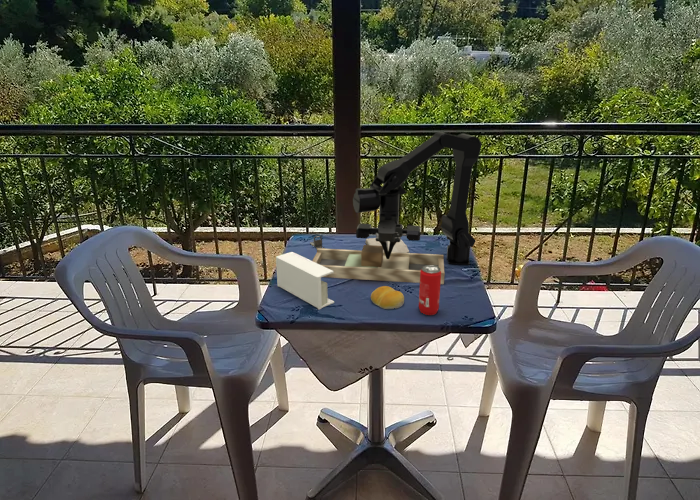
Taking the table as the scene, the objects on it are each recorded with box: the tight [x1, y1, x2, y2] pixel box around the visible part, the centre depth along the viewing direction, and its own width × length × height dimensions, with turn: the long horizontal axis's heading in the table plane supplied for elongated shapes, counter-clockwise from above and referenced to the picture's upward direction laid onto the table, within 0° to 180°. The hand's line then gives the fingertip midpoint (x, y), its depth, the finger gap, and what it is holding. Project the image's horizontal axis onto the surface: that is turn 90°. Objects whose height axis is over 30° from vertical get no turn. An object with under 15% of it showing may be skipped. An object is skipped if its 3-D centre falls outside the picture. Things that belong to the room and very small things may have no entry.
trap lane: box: [311, 248, 446, 285], centre depth 155 cm, size 40×14×4 cm, turn 81°
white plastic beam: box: [275, 251, 335, 310], centre depth 140 cm, size 20×6×9 cm, turn 42°
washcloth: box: [364, 237, 410, 253], centre depth 171 cm, size 12×18×3 cm, turn 12°
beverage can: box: [418, 265, 442, 316], centre depth 130 cm, size 5×5×12 cm
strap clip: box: [309, 235, 327, 250], centre depth 174 cm, size 8×3×4 cm, turn 27°
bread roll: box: [370, 285, 405, 310], centre depth 136 cm, size 8×9×4 cm
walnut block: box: [361, 244, 383, 267], centre depth 155 cm, size 6×6×4 cm
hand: (387, 258), depth 154 cm, fingers closed
